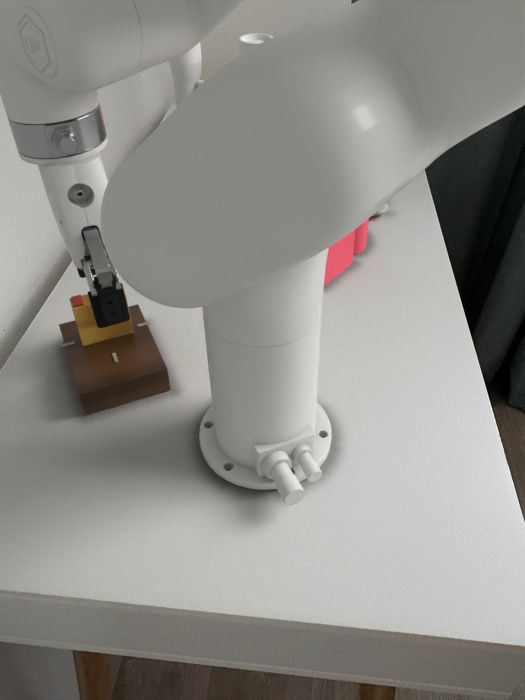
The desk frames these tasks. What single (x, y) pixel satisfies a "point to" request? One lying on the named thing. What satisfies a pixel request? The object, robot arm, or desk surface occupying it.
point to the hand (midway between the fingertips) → (103, 297)
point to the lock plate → (116, 366)
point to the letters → (345, 252)
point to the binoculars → (189, 65)
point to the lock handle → (88, 324)
